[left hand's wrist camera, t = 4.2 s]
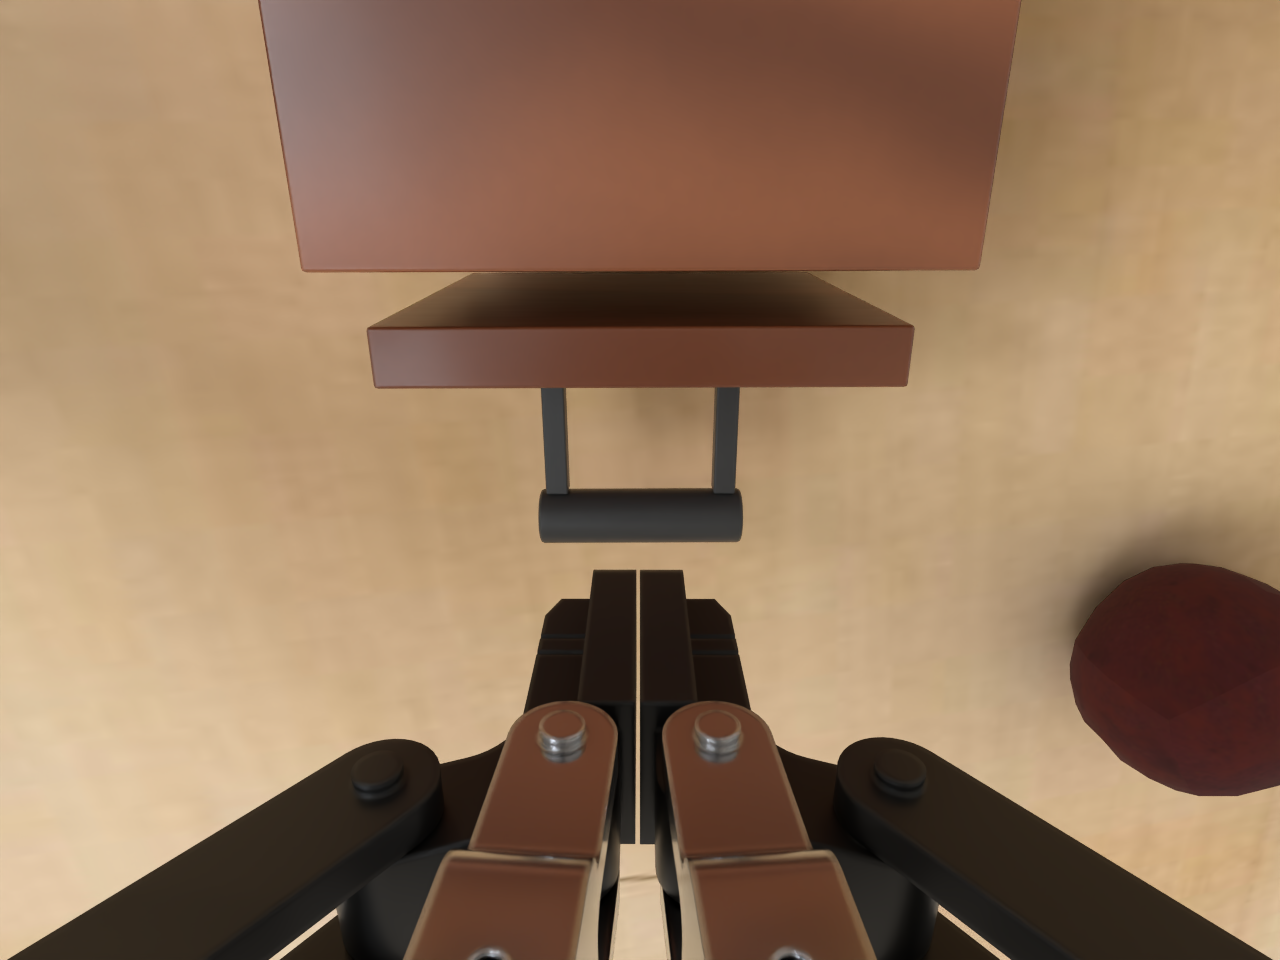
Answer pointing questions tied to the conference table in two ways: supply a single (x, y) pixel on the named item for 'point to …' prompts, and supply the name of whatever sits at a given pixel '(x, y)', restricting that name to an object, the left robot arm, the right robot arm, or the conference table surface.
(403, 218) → the cabinet
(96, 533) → the conference table surface
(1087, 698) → the dark maroon ball
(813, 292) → the drawer
